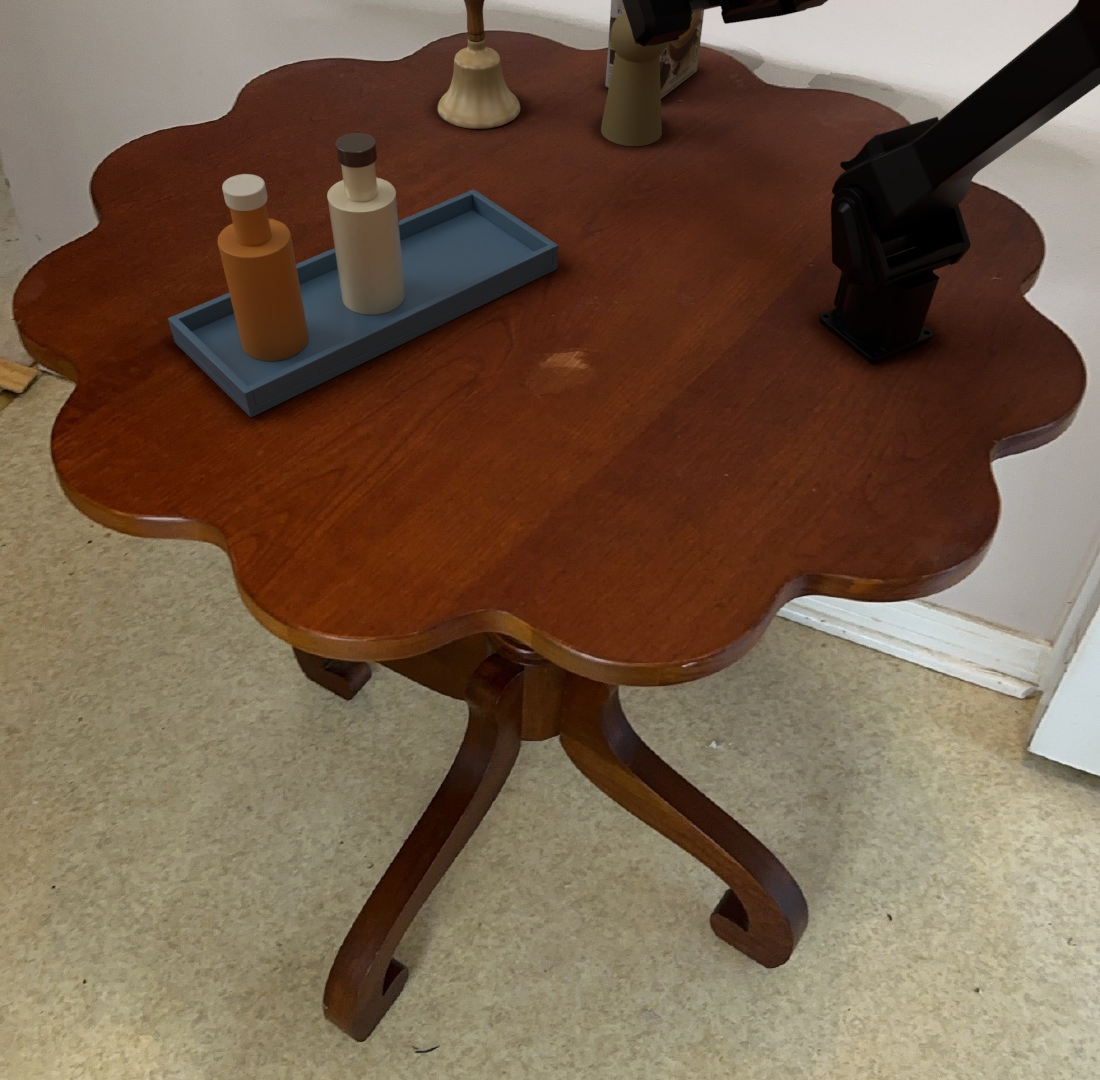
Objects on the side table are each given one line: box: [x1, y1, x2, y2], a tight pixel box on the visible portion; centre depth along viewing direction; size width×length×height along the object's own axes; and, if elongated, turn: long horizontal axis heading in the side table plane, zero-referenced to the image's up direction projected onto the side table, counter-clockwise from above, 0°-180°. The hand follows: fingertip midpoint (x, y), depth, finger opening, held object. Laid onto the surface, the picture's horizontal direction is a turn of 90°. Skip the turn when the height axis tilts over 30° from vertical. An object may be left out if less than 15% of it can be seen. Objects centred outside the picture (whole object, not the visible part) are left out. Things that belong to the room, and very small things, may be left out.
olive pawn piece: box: [600, 12, 667, 147], centre depth 103 cm, size 6×6×11 cm
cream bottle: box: [326, 132, 405, 315], centre depth 82 cm, size 5×5×13 cm
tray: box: [167, 188, 559, 418], centre depth 87 cm, size 29×11×2 cm, turn 131°
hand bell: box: [437, 0, 521, 130], centre depth 103 cm, size 8×8×16 cm
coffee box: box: [605, 0, 705, 99], centre depth 109 cm, size 9×6×16 cm
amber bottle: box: [217, 173, 309, 361], centre depth 78 cm, size 5×5×13 cm
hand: (680, 27), depth 94 cm, fingers open, 9 cm apart
